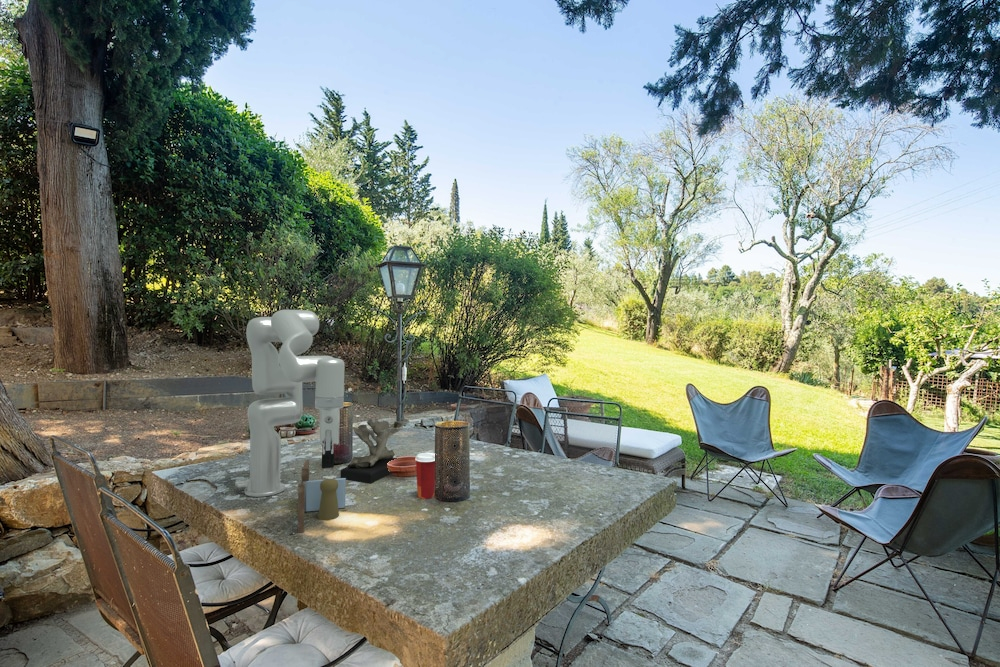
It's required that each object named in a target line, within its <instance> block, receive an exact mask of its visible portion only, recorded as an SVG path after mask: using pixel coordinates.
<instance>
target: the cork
mask: <svg viewBox="0 0 1000 667" xmlns="http://www.w3.org/2000/svg"><path fill="white" fill-rule="evenodd" d="M336 479H337V478H326V479H322V480H323V481H322V482H321V484H320V490H321V491H322V494H321V501H320V507H319V510H318V515H317V519H318V520H321V521H331V520H335V519H337V518H338V517H340V512H339V511H340V510H339V508H338V501H337V493H336V490H337V488H338V481H337V480H336Z"/></svg>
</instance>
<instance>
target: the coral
mask: <svg viewBox="0 0 1000 667" xmlns="http://www.w3.org/2000/svg"><path fill="white" fill-rule="evenodd" d="M409 423H410V419H407V418H402V421H401V420H399V421H397V420H395V421H394V422H393V423H391V424H390V423H389V421H387V420H381V421H379V420H377V419H376V418H374V421H373V419H372V418H369V419H368V420H367V421H366V424H360V425H358V426H357V428H355V427H353V432H354V433H355V435H356V436H358V438H359V439H360V440H361V441H362V442H363V443H364V444H366V445H367V447H368V450H369V454H368V455H364V456H353V457H351V460H350V462H349V463H348V464H347V465H346V467H343V468H342V469H340V477H339V478H346V481H351V482H356V483H357V482H358V483H363V484H368V485H369V484H373V483H375V482H377V481H379V480H381V479H383V478H385V477H387V476H389V475H392V474H393V472H389V471H388V468H387V463H388V462H389V461H391V460H394V459H397V458H398V457H395V452H394V450H393V449H390V450H388V448H387V442H388V440H389V439H390V437H391V436H393V435H394V434H396V433H399V432H400V431H402V429H403V427H404V426H405V425H407V424H409ZM367 426H369V427H370V428H371V429H368V428H367ZM370 436H371V438H372V440H371V439H370ZM373 441H375V443H376V444H375V445H374V442H373Z"/></svg>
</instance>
